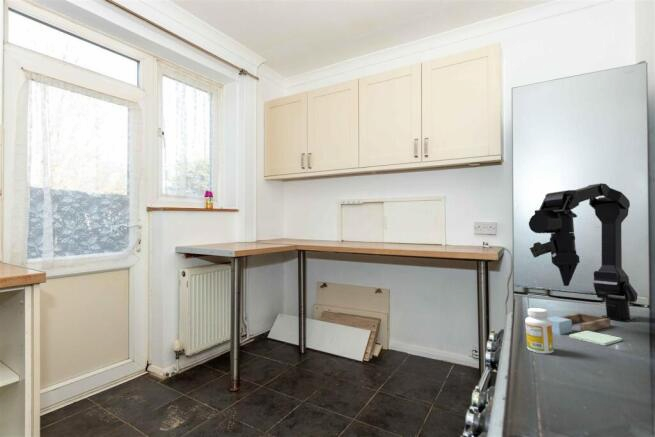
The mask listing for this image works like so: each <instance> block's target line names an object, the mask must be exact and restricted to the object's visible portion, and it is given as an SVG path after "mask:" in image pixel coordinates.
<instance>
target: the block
mask: <svg viewBox="0 0 655 437" xmlns="http://www.w3.org/2000/svg"><path fill="white" fill-rule="evenodd" d="M560 317H561V316H550V317H546V318H547V319H549V320H550V321H551V324H552V334H555V335H559V336H560V335H563V334H567V333H571V332H573V326H572V325H573V323H572V321H571V319H566V318H560Z"/></svg>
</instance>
